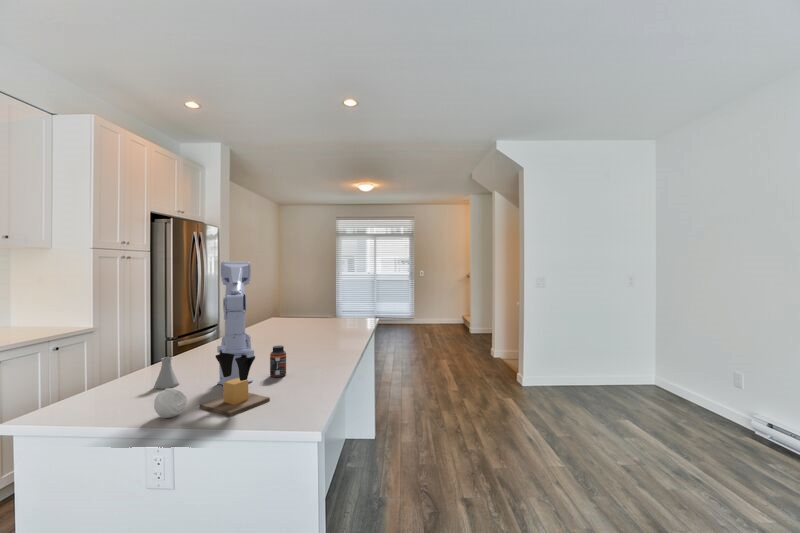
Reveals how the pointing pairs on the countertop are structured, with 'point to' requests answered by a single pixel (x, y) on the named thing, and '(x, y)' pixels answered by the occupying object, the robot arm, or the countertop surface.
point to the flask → (166, 375)
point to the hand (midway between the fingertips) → (235, 378)
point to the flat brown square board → (231, 409)
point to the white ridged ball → (169, 403)
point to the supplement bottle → (278, 362)
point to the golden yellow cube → (235, 391)
